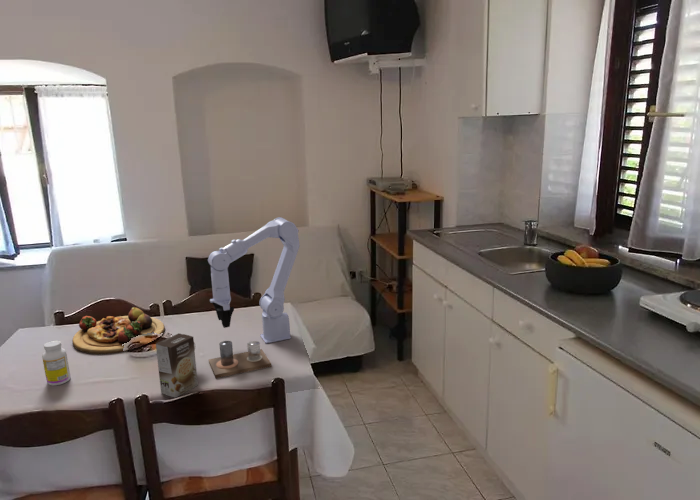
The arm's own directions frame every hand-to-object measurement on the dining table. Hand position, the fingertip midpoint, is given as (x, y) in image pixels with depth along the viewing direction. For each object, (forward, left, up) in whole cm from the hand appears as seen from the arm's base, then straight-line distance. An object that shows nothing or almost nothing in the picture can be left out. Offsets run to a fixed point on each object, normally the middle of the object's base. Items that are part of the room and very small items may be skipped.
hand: (224, 323), depth 191 cm
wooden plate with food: (+34, -29, -10) cm, 46 cm away
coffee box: (+19, +23, -10) cm, 31 cm away
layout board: (-1, +15, -9) cm, 18 cm away
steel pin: (+3, +15, -8) cm, 17 cm away
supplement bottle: (+53, +1, -10) cm, 53 cm away
